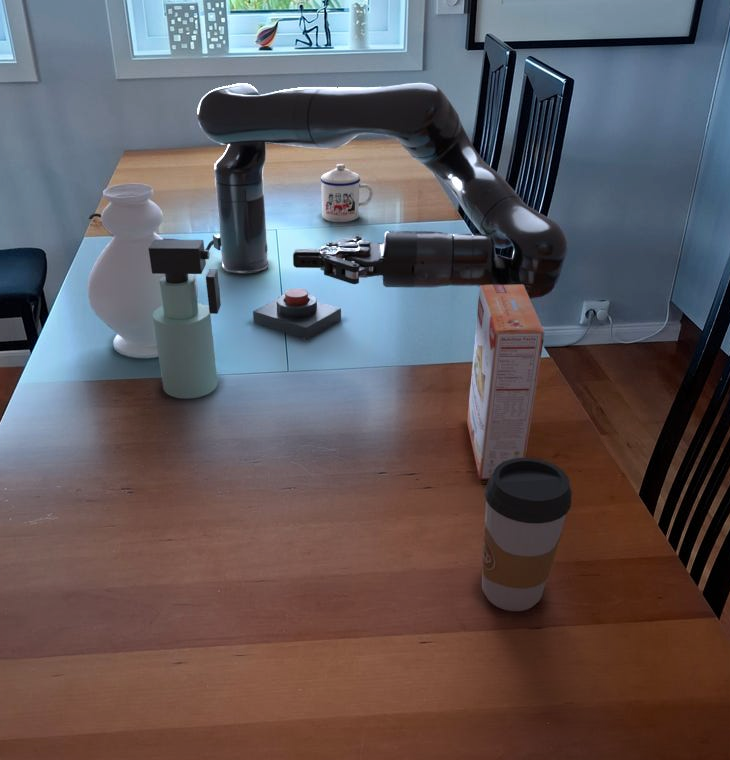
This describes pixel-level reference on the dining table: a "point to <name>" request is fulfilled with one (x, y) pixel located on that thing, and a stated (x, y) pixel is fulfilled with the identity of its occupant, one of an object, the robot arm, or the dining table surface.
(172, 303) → the spray bottle
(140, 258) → the decorative vase
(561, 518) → the coffee cup
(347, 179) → the teacup with lid
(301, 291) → the button
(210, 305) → the trigger
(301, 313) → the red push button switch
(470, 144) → the robot arm
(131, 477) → the dining table surface
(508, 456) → the cracker box
